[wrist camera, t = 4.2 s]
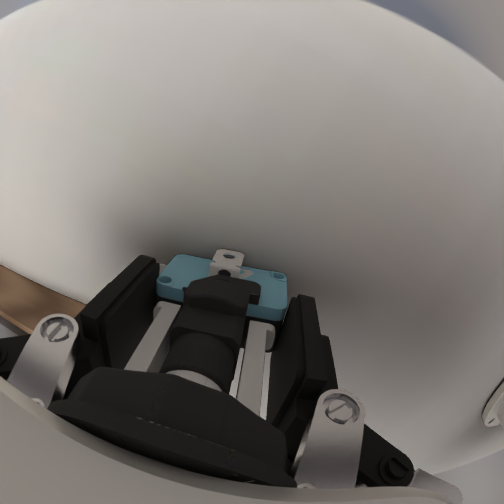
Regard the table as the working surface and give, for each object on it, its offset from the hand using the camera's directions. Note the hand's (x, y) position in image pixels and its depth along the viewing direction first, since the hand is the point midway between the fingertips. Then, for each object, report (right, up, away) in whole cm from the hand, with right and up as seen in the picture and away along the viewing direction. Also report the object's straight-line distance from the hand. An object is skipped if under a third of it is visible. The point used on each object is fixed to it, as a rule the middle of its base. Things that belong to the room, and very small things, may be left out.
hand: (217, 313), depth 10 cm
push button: (0, +1, +2) cm, 3 cm away
